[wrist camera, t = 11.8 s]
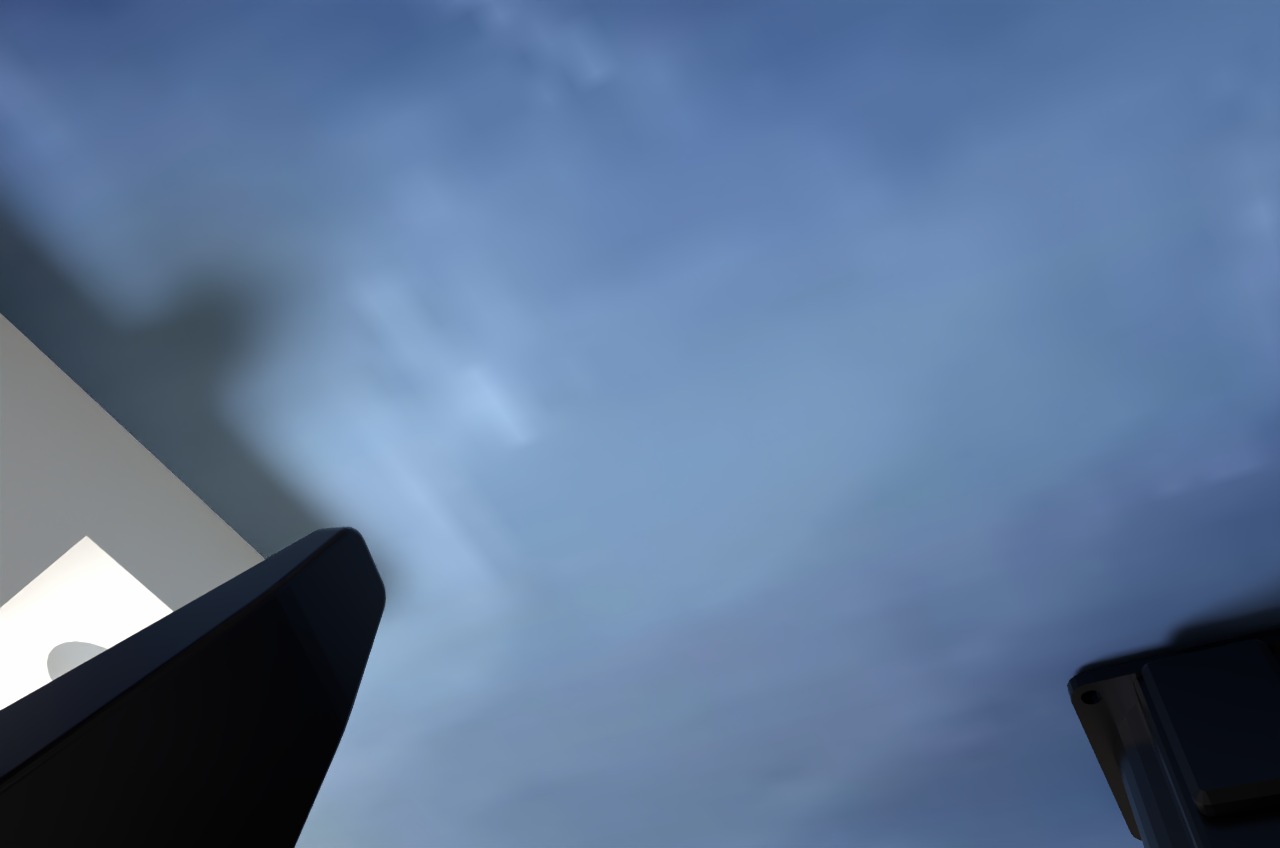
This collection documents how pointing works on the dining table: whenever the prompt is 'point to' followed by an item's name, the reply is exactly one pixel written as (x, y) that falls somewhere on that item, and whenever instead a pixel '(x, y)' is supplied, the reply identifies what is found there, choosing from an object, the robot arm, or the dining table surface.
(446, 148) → the dining table surface
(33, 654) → the u-slot stand
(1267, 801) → the robot arm
